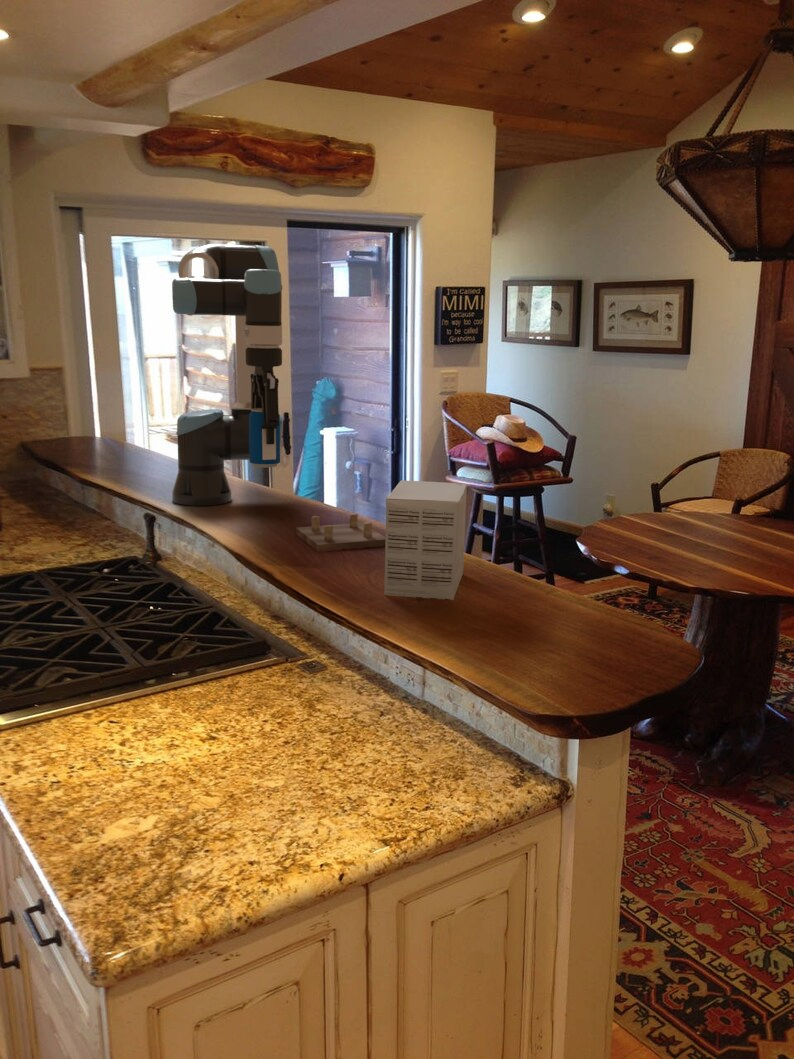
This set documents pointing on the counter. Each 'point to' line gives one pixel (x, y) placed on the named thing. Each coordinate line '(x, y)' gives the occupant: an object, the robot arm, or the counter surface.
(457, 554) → the supplement box
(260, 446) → the beverage can
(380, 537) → the peg stand
